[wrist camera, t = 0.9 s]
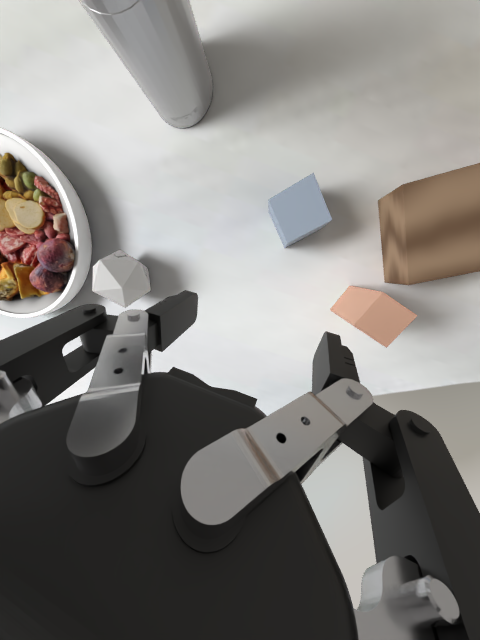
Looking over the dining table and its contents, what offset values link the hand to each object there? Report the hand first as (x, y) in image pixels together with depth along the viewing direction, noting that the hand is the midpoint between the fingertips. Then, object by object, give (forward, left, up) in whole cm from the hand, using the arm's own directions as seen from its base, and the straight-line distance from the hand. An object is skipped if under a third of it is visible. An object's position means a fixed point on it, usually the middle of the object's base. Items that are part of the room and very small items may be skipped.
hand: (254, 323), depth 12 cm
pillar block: (+5, +14, -23) cm, 27 cm away
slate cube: (-10, +7, -23) cm, 26 cm away
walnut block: (-4, +25, -23) cm, 34 cm away
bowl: (-19, -41, -24) cm, 51 cm away
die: (-7, -22, -23) cm, 33 cm away
